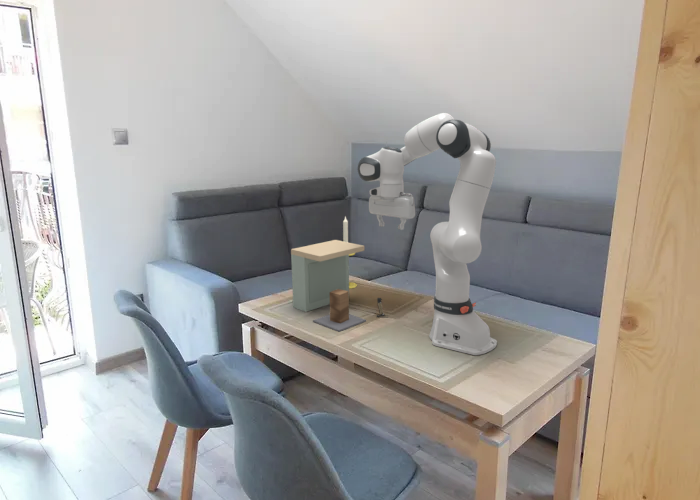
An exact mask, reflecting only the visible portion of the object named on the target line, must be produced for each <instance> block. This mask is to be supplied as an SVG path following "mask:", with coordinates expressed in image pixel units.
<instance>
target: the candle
mask: <svg viewBox="0 0 700 500" xmlns="http://www.w3.org/2000/svg"><path fill="white" fill-rule="evenodd" d="M342 225H343V226H342V228H343V229H342V231H343V232H342V235H343V236H342V237H343V238H342V239H343V241H344V242H348V243H349V220H348V219H347V216H346V215H345V216H344V220H343V221H342ZM354 255H356V253H353V254H349V257H352V256H354ZM357 286H358V284H357V283H355V282H353V281H352V282H351V281H349V290H350V289H355V288H356V287H357Z"/></svg>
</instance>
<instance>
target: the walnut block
mask: <svg viewBox="0 0 700 500" xmlns="http://www.w3.org/2000/svg"><path fill="white" fill-rule="evenodd" d="M329 293H330V304H329V314H330V321H333V322H337V323H340V324H341V323H343V322H345V321H347V320H349V314H350V303H349V302H350V300H349V299H350V290H349V291H345V290H341V289H337V290H334V291H331V292H329Z"/></svg>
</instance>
